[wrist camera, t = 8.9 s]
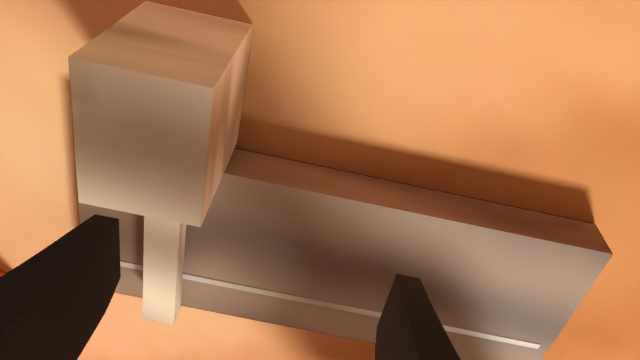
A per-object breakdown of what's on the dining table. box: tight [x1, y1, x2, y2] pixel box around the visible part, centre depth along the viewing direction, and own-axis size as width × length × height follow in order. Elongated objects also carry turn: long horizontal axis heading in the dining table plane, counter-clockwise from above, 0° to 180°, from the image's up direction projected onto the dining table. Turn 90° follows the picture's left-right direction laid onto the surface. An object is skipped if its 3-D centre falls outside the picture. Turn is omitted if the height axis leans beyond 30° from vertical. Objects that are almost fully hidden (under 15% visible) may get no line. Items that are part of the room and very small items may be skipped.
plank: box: [74, 144, 613, 360], centre depth 24 cm, size 8×22×2 cm, turn 79°
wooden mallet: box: [68, 1, 253, 325], centre depth 20 cm, size 13×4×6 cm, turn 169°
